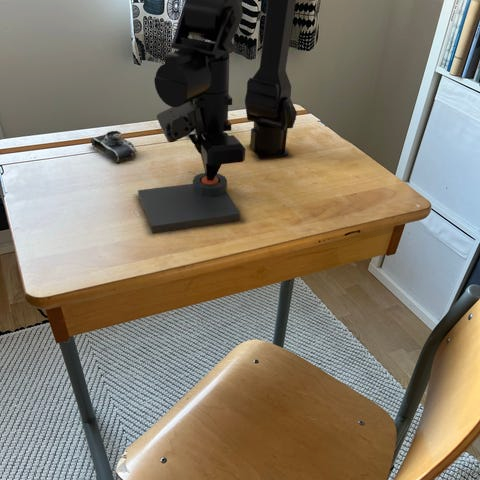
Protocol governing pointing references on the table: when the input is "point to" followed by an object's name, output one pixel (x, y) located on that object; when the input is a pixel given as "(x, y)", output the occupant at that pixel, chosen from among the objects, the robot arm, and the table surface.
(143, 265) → the table surface
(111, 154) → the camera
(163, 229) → the grey base plate
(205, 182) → the button
